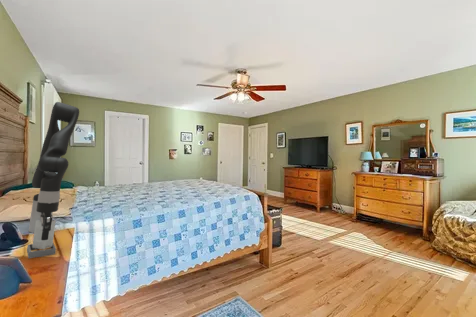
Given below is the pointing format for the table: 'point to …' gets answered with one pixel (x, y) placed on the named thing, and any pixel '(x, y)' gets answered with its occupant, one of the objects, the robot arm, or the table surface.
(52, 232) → the skincare box
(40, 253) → the frame
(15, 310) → the table surface
